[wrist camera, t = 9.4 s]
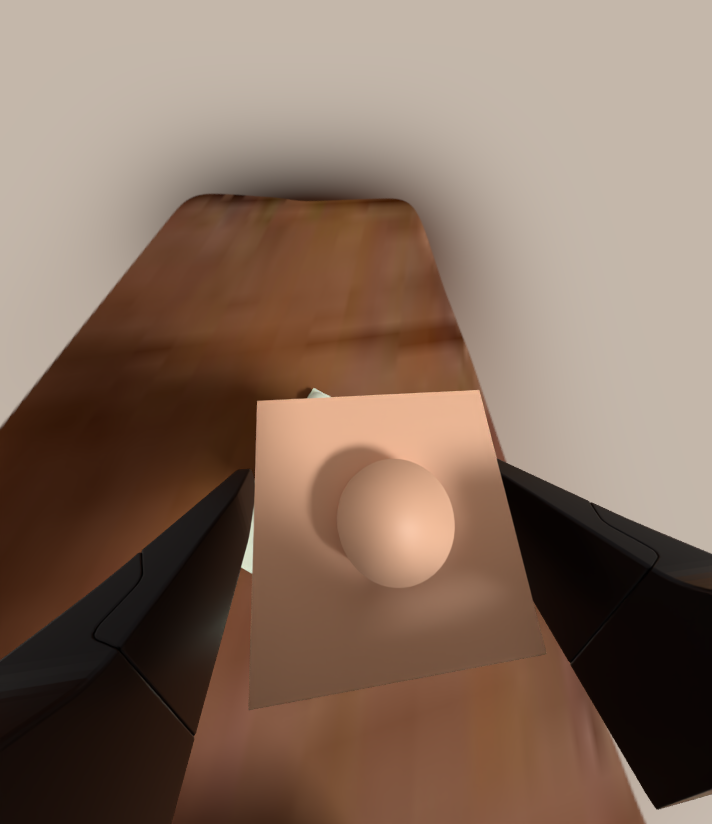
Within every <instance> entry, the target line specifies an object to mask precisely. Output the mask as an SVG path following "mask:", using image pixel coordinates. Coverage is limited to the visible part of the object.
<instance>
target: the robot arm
mask: <svg viewBox="0 0 712 824" xmlns="http://www.w3.org/2000/svg"><path fill="white" fill-rule="evenodd" d="M497 462H498V466H499V470H500V474H501V478H502V482H503V486H504V489H505V493H506V497H507V501H508V505H509V509H510V513H511V517H512V521H513V525H514V529H515V533H516V536H517V540H518V544H519V548H520V552H521V556H522V560H523V564H524V568H525V572H526V576H527V579H528V583H529V587H530V591H531V595H532V599H533V601H534V603H535V605H536V607H537V608H538V610H539V612H540V613H541V615H542V617H543V619H544V620H545V622H546V624H547V625H548V627H549V629H550V630H551V632H552V634H553V636H554V637H555V639H556V641H557V642H558V644H559V646H560V648H561V649H562V651H563V653H564V654H565V656H566V658H567V659H568V661H569V662H570V665H571V667H572V668H573V670H574V672H575V674H576V675H577V677H578V679H579V680H580V682H581V684H582V685H583V687H584V689H585V691H586V692H587V694H588V696H589V697H590V699H591V701H592V703H593V704H594V706H595V708H596V709H597V711H598V713H599V714H600V716H601V718H602V720H603V721H604V723H605V725H606V726H607V728H608V730H609V731H610V733H611V735H612V737H613V738H614V740H615V742H616V743H617V745H618V747H619V749H620V750H621V752H622V754H623V755H624V757H625V758H626V761H627V762H628V764H629V766H630V767H631V769H632V771H633V772H634V774H635V776H636V778H637V779H638V781H639V783H640V784H641V786H642V788H643V789H644V791H645V793H646V794H647V796H648V798H649V799H650V801H651V802H652V804H653V805H654V807H655V808H656V809H662V808H665V807H669V806H673V805H676V804H680V803H683V802H687V801H690V800H694V799H697V798H701V797H704V796H708V795H711V794H712V554H711V553H708V552H706V551H704V550H701V549H699V548H696V547H694V546H691V545H689V544H687V543H684V542H682V541H679V540H677V539H675V538H672V537H670V536H667V535H665V534H662V533H660V532H658V531H655V530H653V529H650V528H648V527H646V526H644V525H641V524H639V523H636V522H634V521H632V520H629V519H627V518H624V517H623V516H620V515H618V514H616V513H614V512H612V511H609V510H607V509H605V508H603V507H601V506H599V505H596V504H594V503H590V502H589V501H588V500H585V499H583V498H581V497H579V496H577V495H575V494H573V493H570V492H568V491H566V490H564V489H562V488H559V487H557V486H555V485H553V484H551V483H549V482H547V481H544V480H542V479H540V478H538V477H535V476H534V475H531V474H529V473H527V472H525V471H523V470H521V469H519V468H516V467H514V466H512V465H510V464H508V463H506V462H503V461H501V460H499V459H497ZM254 497H255V482H254V478H253V473H252V470H251V469H239V470H237V471H235V472H234V473H233V474H232V475H231V476H230V477H228V478H227V479H226V480H225V481H224V482H222V483H221V484H220V485H219V486H218V487H216V488H215V489H214V490H213V491H212V492H211V493H209V494H208V495H207V496H206V497H205V498H203V499H202V500H201V501H200V502H199V503H197V504H196V505H195V506H194V507H193V508H192V509H190V510H189V511H188V512H187V513H186V514H184V515H183V516H182V517H181V518H180V519H178V520H177V521H176V522H175V523H174V524H173V525H171V526H170V527H169V528H168V529H167V530H165V531H164V532H163V533H162V534H161V535H159V536H158V537H157V538H156V539H155V540H154V541H152V542H151V543H150V544H149V545H148V546H146V547H145V548H144V549H143V550H142V553H138V554H137V555H136V556H134V557H133V558H132V559H131V560H130V561H128V562H127V563H126V564H125V565H124V566H122V567H121V568H120V569H119V570H118V571H116V572H115V573H114V574H113V575H111V576H110V577H109V578H108V579H106V580H105V581H104V582H103V583H102V584H100V585H99V586H98V587H96V588H95V589H94V590H93V591H91V592H90V593H89V594H87V595H86V596H85V597H83V598H82V599H81V600H80V601H78V602H77V603H76V604H74V605H73V606H72V607H70V608H69V609H68V610H66V611H65V612H64V613H62V614H61V615H60V616H58V617H57V618H56V619H54V620H53V621H52V622H51V623H49V624H48V625H47V626H45V627H44V628H43V629H41V630H40V631H39V632H37V633H36V634H35V635H33V636H32V637H31V638H29V639H28V640H27V641H25V642H24V643H23V644H21V645H20V646H19V647H17V648H16V649H15V650H13V651H12V652H11V653H9V654H8V655H7V656H5V657H4V658H3V659H1V660H0V824H171V823H172V819H173V815H174V812H175V808H176V804H177V801H178V797H179V793H180V790H181V786H182V782H183V779H184V775H185V771H186V768H187V764H188V760H189V757H190V753H191V749H192V746H193V742H194V735H195V734H196V730H197V727H198V723H199V719H200V716H201V712H202V708H203V705H204V701H205V697H206V694H207V690H208V687H209V683H210V679H211V676H212V672H213V668H214V665H215V661H216V657H217V654H218V650H219V646H220V643H221V639H222V635H223V632H224V628H225V624H226V621H227V617H228V613H229V610H230V606H231V602H232V599H233V595H234V591H235V588H236V584H237V580H238V577H239V573H240V570H241V566H242V562H243V559H244V555H245V551H246V548H247V544H248V540H249V535H250V529H251V522H252V516H253V509H254Z"/></svg>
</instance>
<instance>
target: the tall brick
mask: <svg viewBox="0 0 712 824" xmlns="http://www.w3.org/2000/svg"><path fill="white" fill-rule="evenodd" d="M545 654H546V650H545V646H544V642H543V638H542V634H541V630H540V626H539V623H538V619H537V615H536V611H535V607H534V603H533V599H532V595H531V591H530V587H529V583H528V579H527V576H526V572H525V568H524V564H523V560H522V556H521V552H520V548H519V544H518V540H517V536H516V533H515V529H514V525H513V521H512V517H511V513H510V509H509V505H508V501H507V497H506V493H505V489H504V486H503V482H502V478H501V474H500V470H499V466H498V462H497V458H496V454H495V450H494V446H493V442H492V439H491V435H490V431H489V427H488V423H487V419H486V415H485V411H484V407H483V403H482V399H481V396H480V392H479V390H472V391H451V392H431V393H410V394H390V395H369V396H349V397H328V398H308V399H287V400H267V401H257V427H256V462H255V497H254V533H253V568H252V603H251V639H250V674H249V710H253V709H258V708H263V707H269V706H274V705H279V704H284V703H290V702H295V701H300V700H306V699H311V698H316V697H322V696H327V695H332V694H338V693H343V692H348V691H354V690H359V689H364V688H370V687H375V686H380V685H386V684H391V683H396V682H402V681H407V680H412V679H418V678H423V677H428V676H433V675H439V674H444V673H449V672H455V671H460V670H465V669H471V668H476V667H481V666H487V665H492V664H497V663H503V662H508V661H513V660H519V659H524V658H529V657H535V656H540V655H545Z"/></svg>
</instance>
